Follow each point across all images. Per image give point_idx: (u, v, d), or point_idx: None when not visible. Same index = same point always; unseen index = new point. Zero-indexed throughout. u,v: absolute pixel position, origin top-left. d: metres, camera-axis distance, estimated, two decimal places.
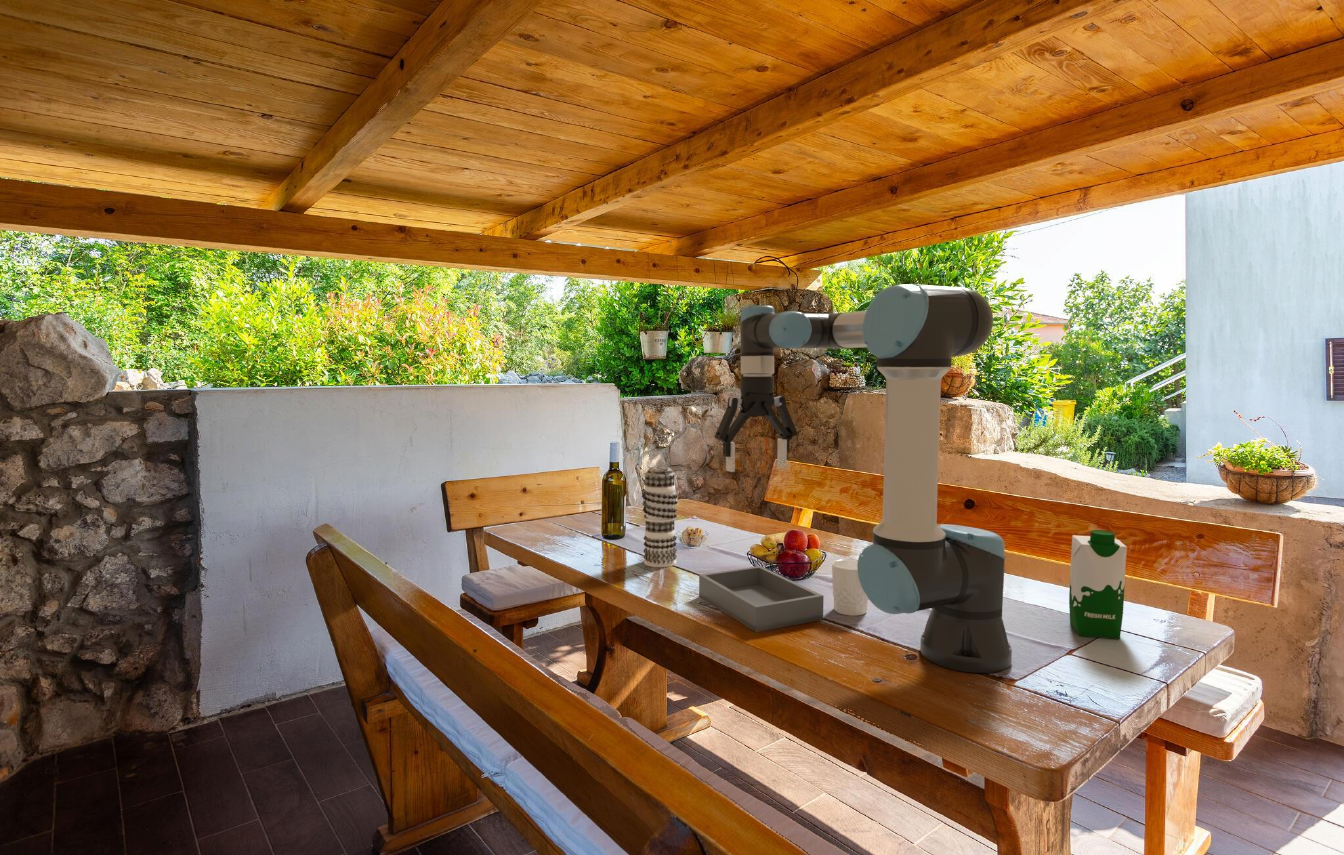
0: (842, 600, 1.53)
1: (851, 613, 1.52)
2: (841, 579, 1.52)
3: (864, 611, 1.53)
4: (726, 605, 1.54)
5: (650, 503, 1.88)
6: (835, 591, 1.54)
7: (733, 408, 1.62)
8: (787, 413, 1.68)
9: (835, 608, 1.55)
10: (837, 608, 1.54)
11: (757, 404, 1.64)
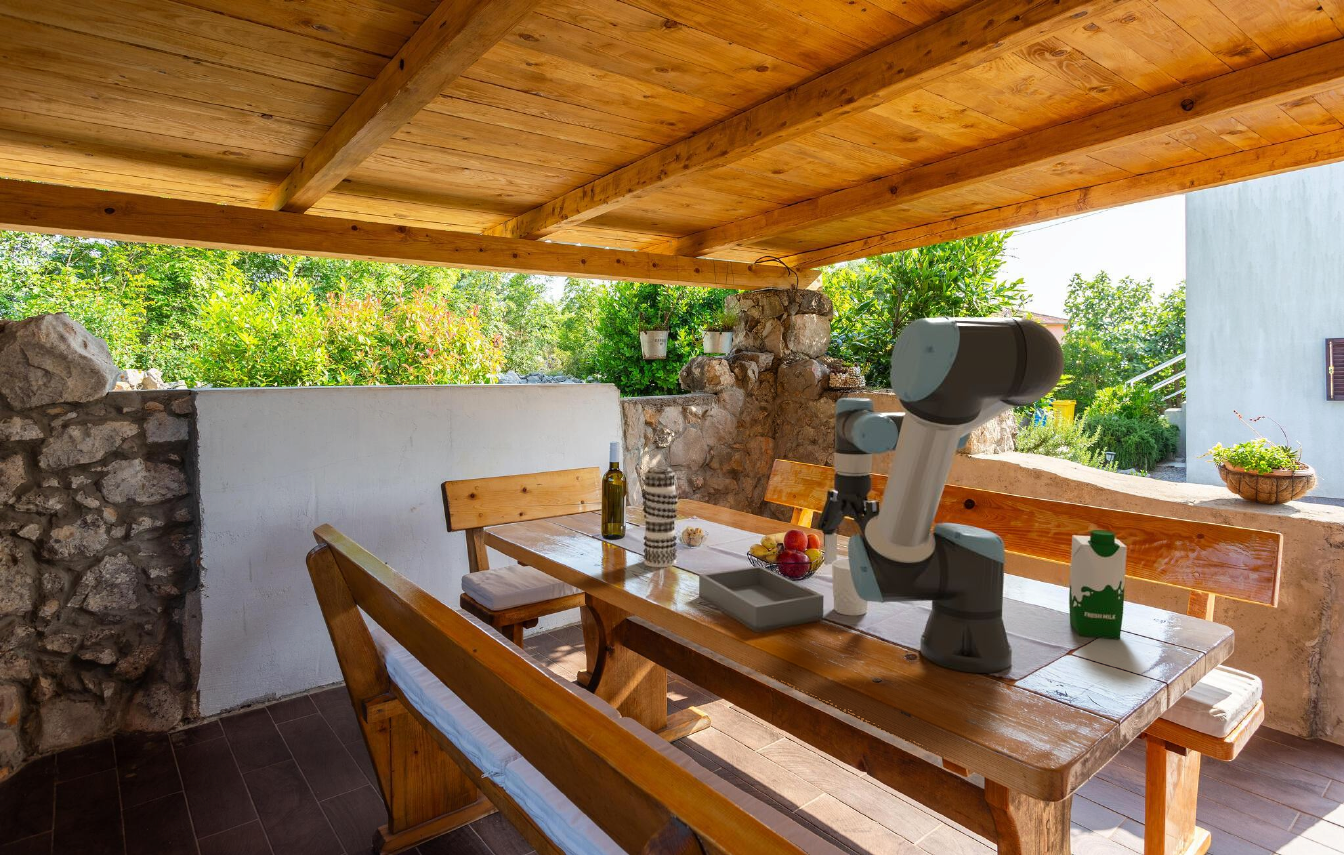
0: (842, 600, 1.53)
1: (851, 613, 1.52)
2: (841, 579, 1.52)
3: (864, 611, 1.53)
4: (726, 605, 1.54)
5: (650, 503, 1.88)
6: (835, 591, 1.54)
7: (827, 500, 1.59)
8: None
9: (835, 608, 1.55)
10: (837, 608, 1.54)
11: (841, 502, 1.54)
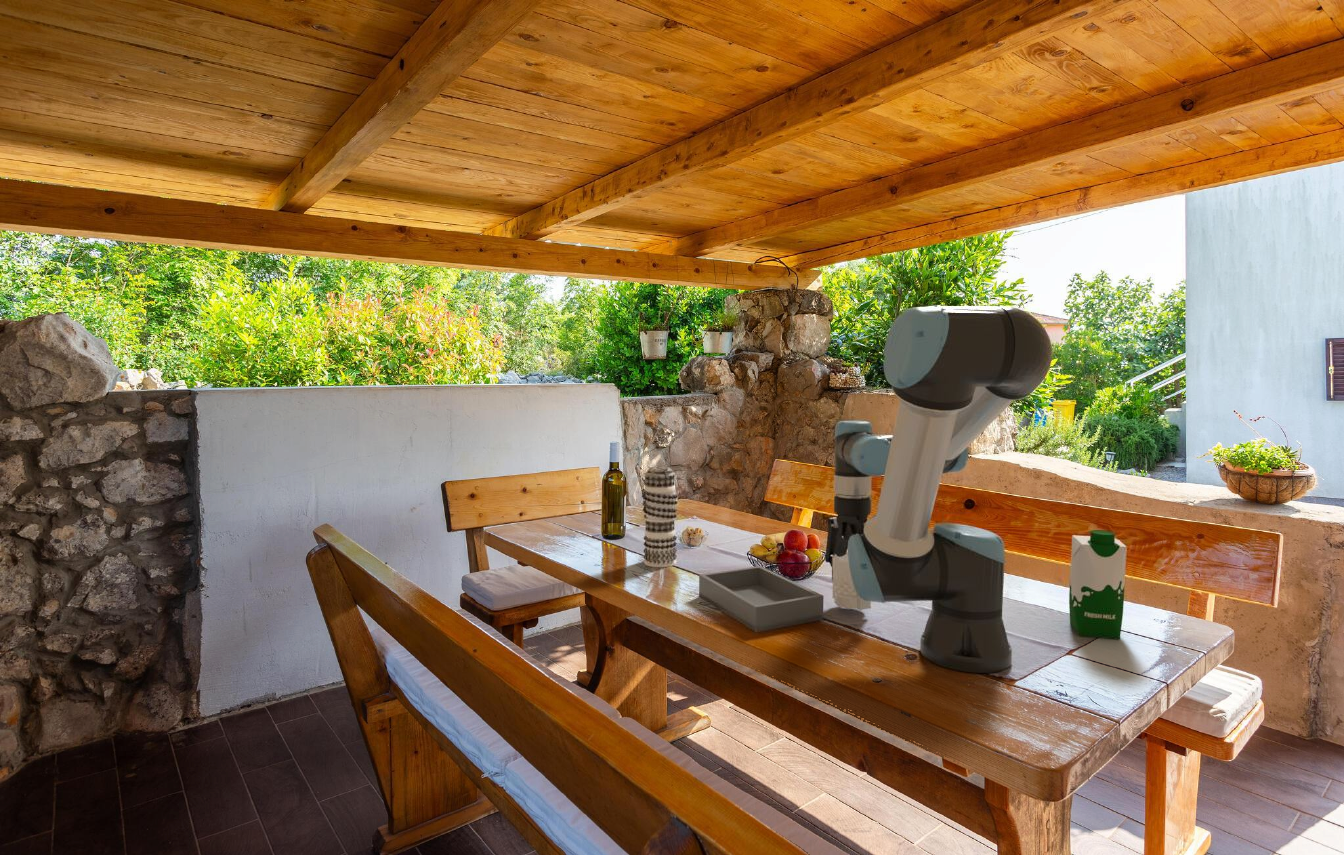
0: (843, 593, 1.52)
1: (852, 606, 1.52)
2: (842, 572, 1.51)
3: None
4: (726, 605, 1.54)
5: (650, 503, 1.88)
6: (836, 584, 1.53)
7: (829, 529, 1.59)
8: None
9: (836, 601, 1.54)
10: (837, 602, 1.53)
11: (841, 525, 1.54)
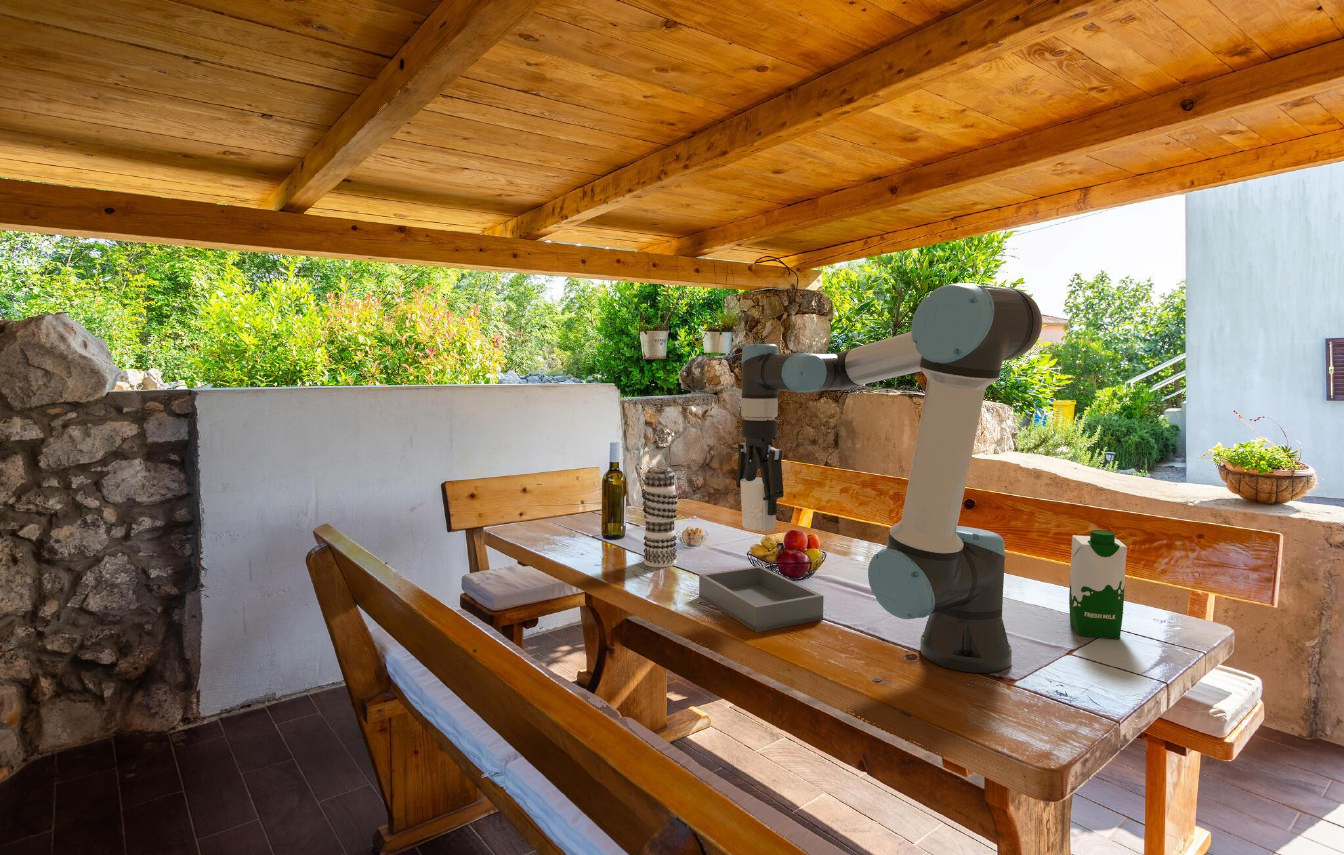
0: (749, 515, 1.53)
1: (757, 528, 1.53)
2: (748, 493, 1.52)
3: None
4: (726, 605, 1.54)
5: (650, 503, 1.88)
6: (743, 507, 1.54)
7: (739, 454, 1.60)
8: (770, 470, 1.49)
9: (743, 524, 1.55)
10: (744, 524, 1.54)
11: (748, 448, 1.55)
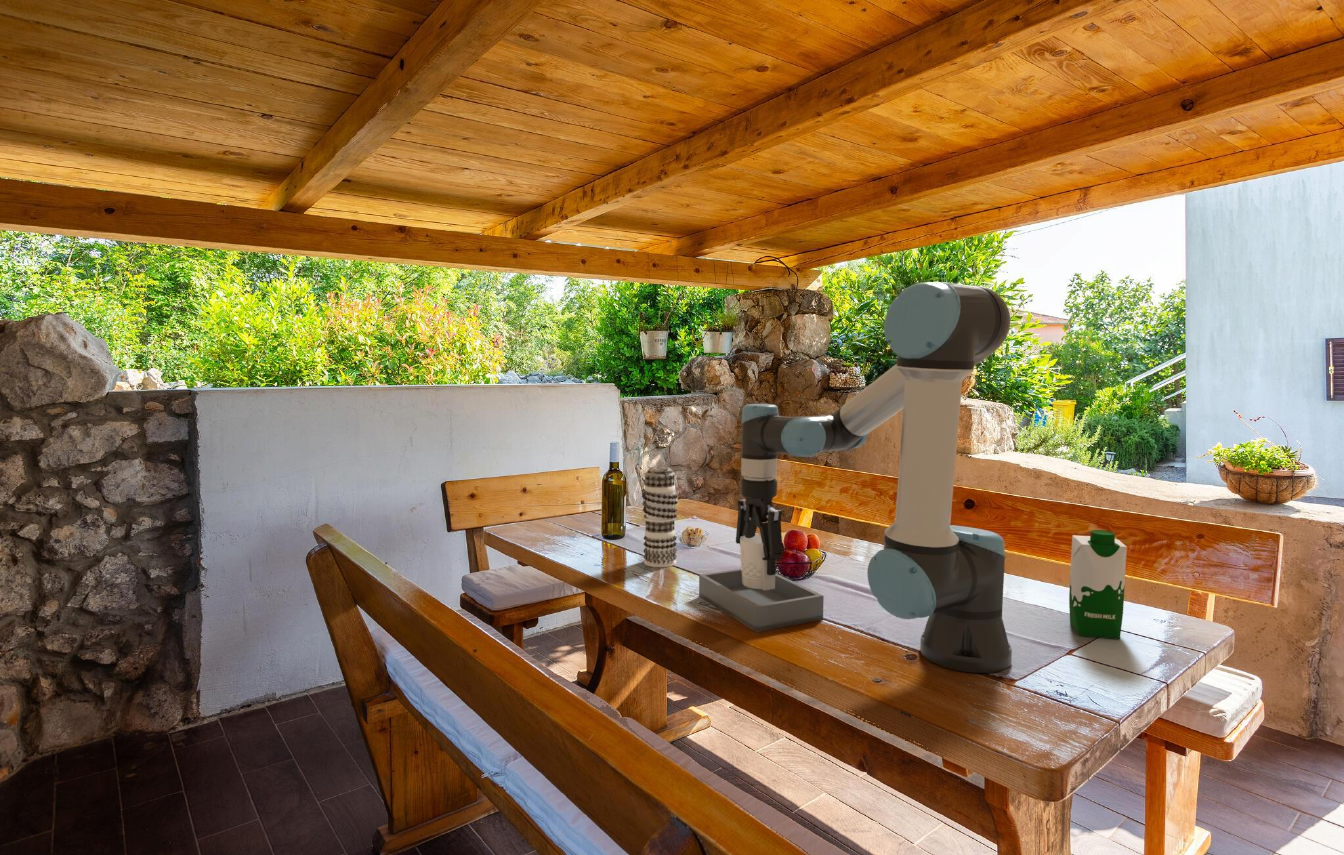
0: (748, 574, 1.54)
1: (757, 586, 1.54)
2: (747, 553, 1.54)
3: None
4: (726, 605, 1.54)
5: (650, 503, 1.88)
6: (742, 565, 1.56)
7: (738, 511, 1.61)
8: (770, 530, 1.50)
9: (743, 582, 1.56)
10: (744, 582, 1.56)
11: (748, 507, 1.56)
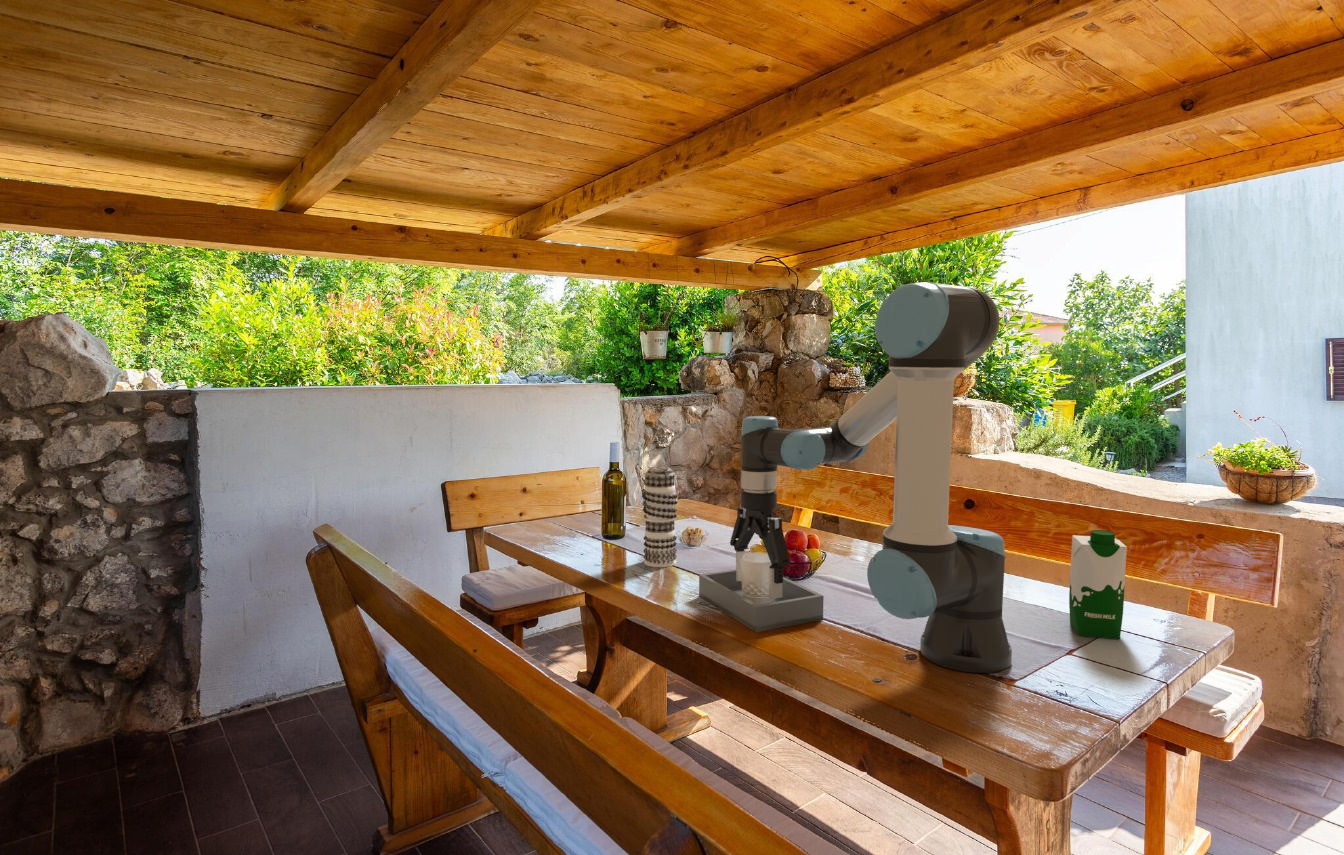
0: (749, 593, 1.54)
1: None
2: (748, 572, 1.54)
3: None
4: (726, 605, 1.54)
5: (650, 503, 1.88)
6: (743, 584, 1.56)
7: (737, 517, 1.61)
8: (773, 538, 1.49)
9: None
10: None
11: (748, 519, 1.56)
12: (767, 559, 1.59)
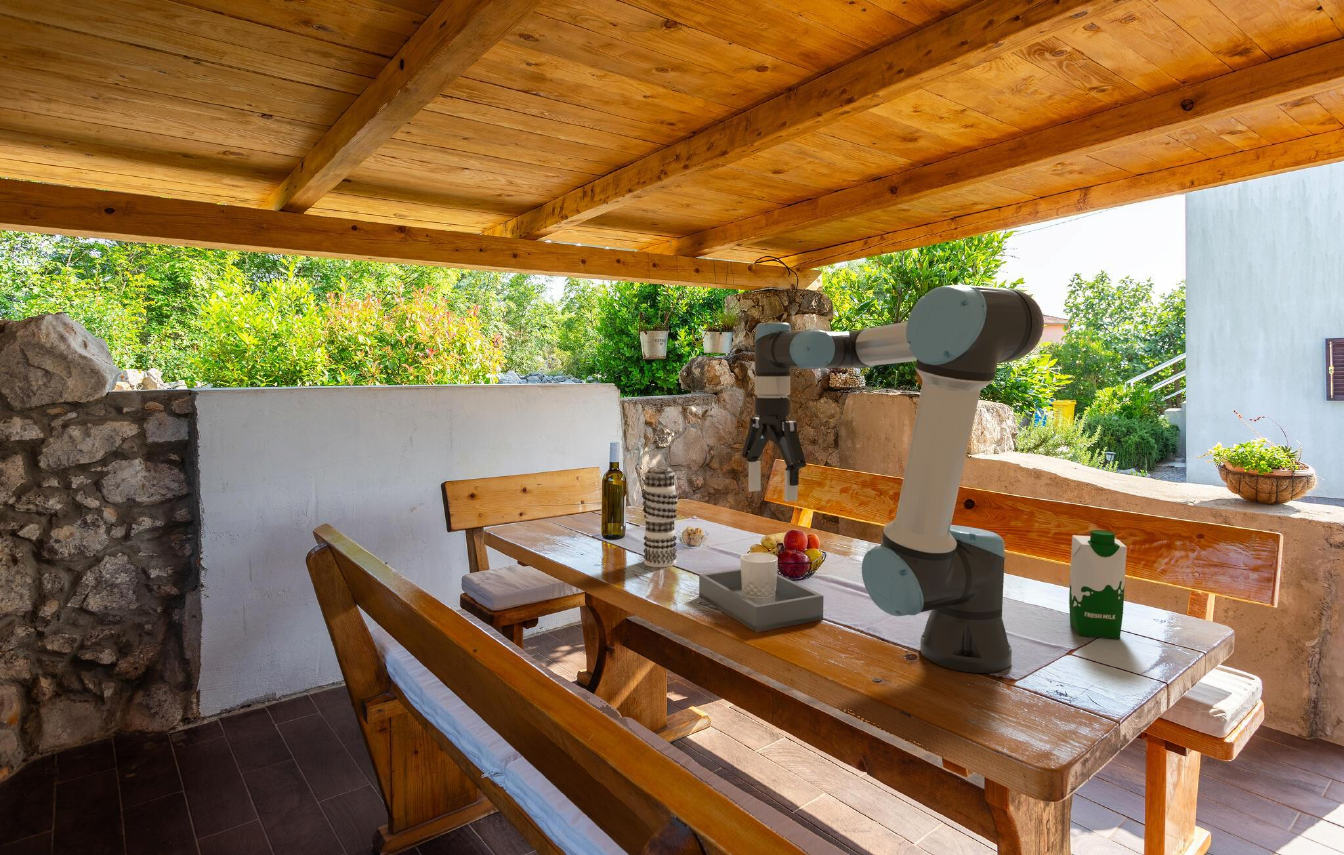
0: (749, 593, 1.54)
1: None
2: (748, 572, 1.54)
3: None
4: (726, 605, 1.54)
5: (650, 503, 1.88)
6: (743, 584, 1.56)
7: (750, 428, 1.62)
8: (788, 441, 1.50)
9: None
10: None
11: (762, 426, 1.57)
12: (767, 559, 1.59)
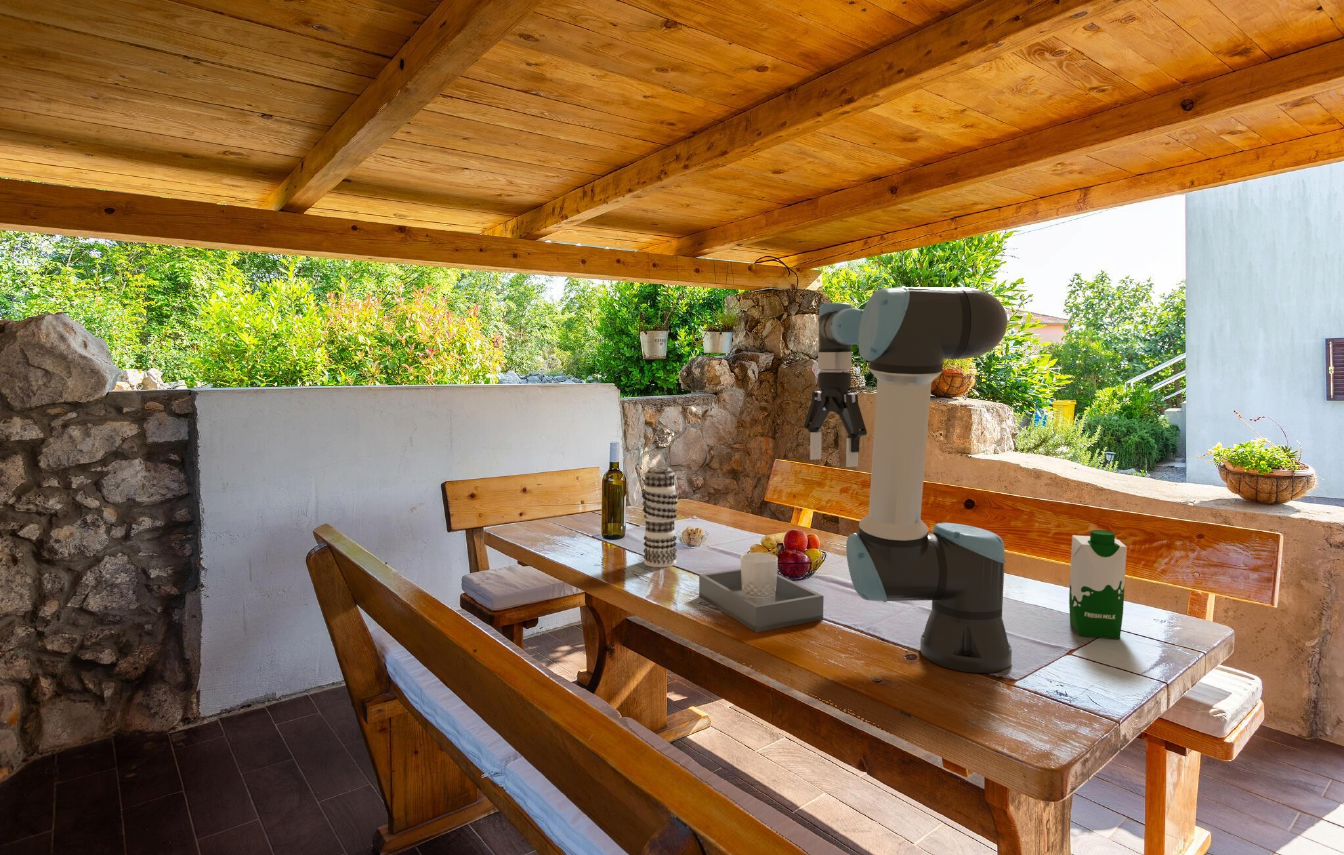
0: (749, 593, 1.54)
1: None
2: (748, 572, 1.54)
3: None
4: (726, 605, 1.54)
5: (650, 503, 1.88)
6: (743, 584, 1.56)
7: (812, 401, 1.76)
8: (850, 411, 1.63)
9: None
10: None
11: (824, 399, 1.70)
12: (767, 559, 1.59)
